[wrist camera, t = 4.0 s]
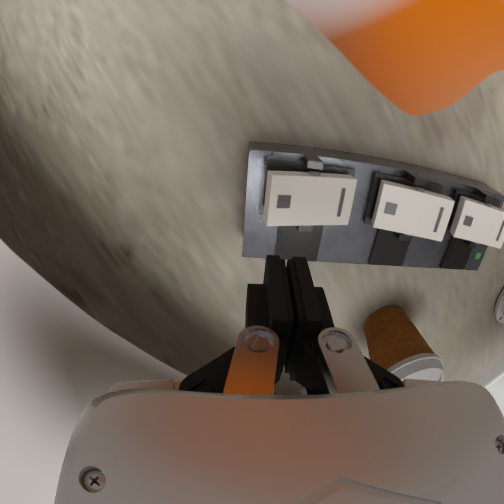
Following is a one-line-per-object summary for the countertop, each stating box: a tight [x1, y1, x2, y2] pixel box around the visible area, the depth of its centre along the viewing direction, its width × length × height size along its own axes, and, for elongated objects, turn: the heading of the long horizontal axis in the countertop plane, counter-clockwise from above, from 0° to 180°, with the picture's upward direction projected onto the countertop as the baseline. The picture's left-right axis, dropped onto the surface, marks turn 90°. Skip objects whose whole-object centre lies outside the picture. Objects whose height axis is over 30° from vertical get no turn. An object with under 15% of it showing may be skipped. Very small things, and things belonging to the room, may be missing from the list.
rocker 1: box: [263, 170, 357, 227], centre depth 23 cm, size 7×4×1 cm, turn 86°
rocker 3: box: [449, 196, 504, 249], centre depth 23 cm, size 7×4×1 cm, turn 86°
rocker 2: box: [371, 180, 455, 242], centre depth 23 cm, size 7×4×1 cm, turn 86°
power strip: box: [242, 142, 504, 270], centre depth 27 cm, size 35×10×6 cm, turn 86°
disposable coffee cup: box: [364, 306, 444, 381], centre depth 33 cm, size 10×10×12 cm
